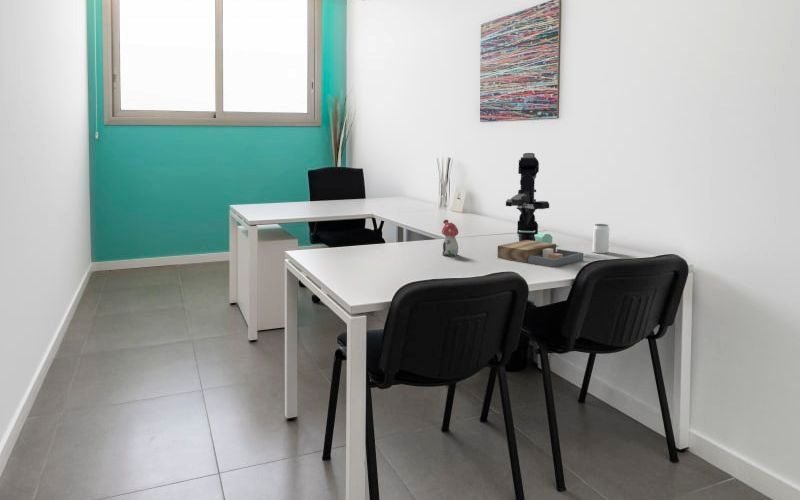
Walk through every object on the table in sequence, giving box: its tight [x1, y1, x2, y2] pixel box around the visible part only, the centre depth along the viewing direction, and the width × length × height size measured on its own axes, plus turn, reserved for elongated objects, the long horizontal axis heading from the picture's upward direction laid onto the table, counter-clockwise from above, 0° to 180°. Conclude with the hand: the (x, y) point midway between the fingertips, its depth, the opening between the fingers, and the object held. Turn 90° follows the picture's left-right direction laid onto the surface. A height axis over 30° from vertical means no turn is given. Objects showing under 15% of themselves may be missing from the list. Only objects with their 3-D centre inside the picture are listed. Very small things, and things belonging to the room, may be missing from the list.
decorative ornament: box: [441, 219, 459, 257], centre depth 260 cm, size 9×6×15 cm
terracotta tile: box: [548, 253, 563, 259], centre depth 245 cm, size 4×4×2 cm
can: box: [592, 223, 610, 255], centre depth 262 cm, size 6×6×12 cm
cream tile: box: [543, 248, 553, 258], centre depth 248 cm, size 4×4×2 cm
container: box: [516, 230, 553, 244], centre depth 294 cm, size 6×6×25 cm
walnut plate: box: [497, 240, 557, 263], centre depth 255 cm, size 15×20×5 cm
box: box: [527, 248, 584, 268], centre depth 245 cm, size 13×20×3 cm, turn 132°
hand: (526, 224), depth 259 cm, fingers closed
